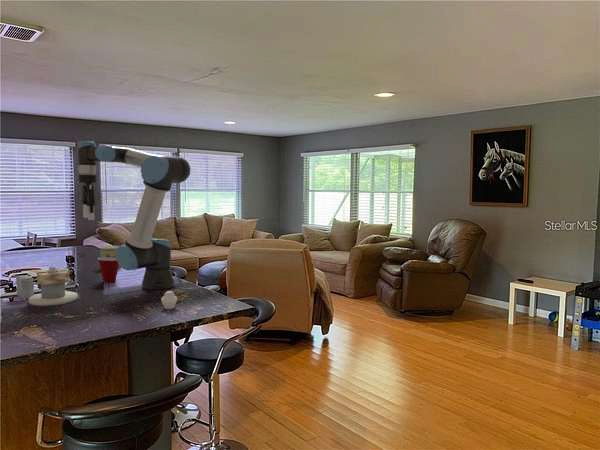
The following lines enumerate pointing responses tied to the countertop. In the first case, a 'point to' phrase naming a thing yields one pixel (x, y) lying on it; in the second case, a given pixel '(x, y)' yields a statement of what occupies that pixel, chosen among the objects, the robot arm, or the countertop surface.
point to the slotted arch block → (53, 276)
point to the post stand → (53, 294)
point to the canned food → (109, 252)
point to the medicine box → (24, 286)
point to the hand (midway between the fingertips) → (88, 218)
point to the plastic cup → (108, 268)
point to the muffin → (169, 300)
